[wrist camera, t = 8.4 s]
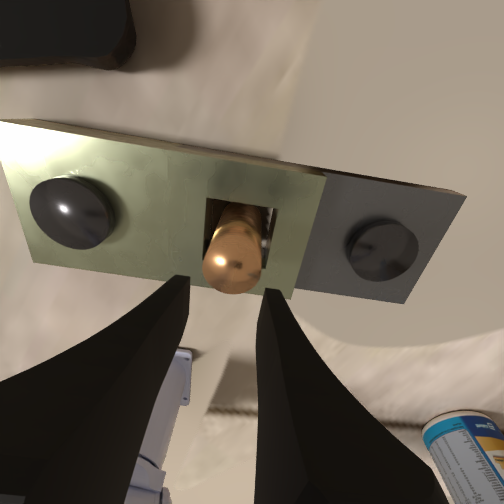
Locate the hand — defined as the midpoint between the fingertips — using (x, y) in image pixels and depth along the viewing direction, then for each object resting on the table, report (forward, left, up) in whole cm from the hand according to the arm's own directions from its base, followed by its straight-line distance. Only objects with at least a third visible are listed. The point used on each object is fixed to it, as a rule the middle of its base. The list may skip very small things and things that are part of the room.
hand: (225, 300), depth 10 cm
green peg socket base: (0, 0, -9) cm, 9 cm away
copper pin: (0, 0, -9) cm, 9 cm away
